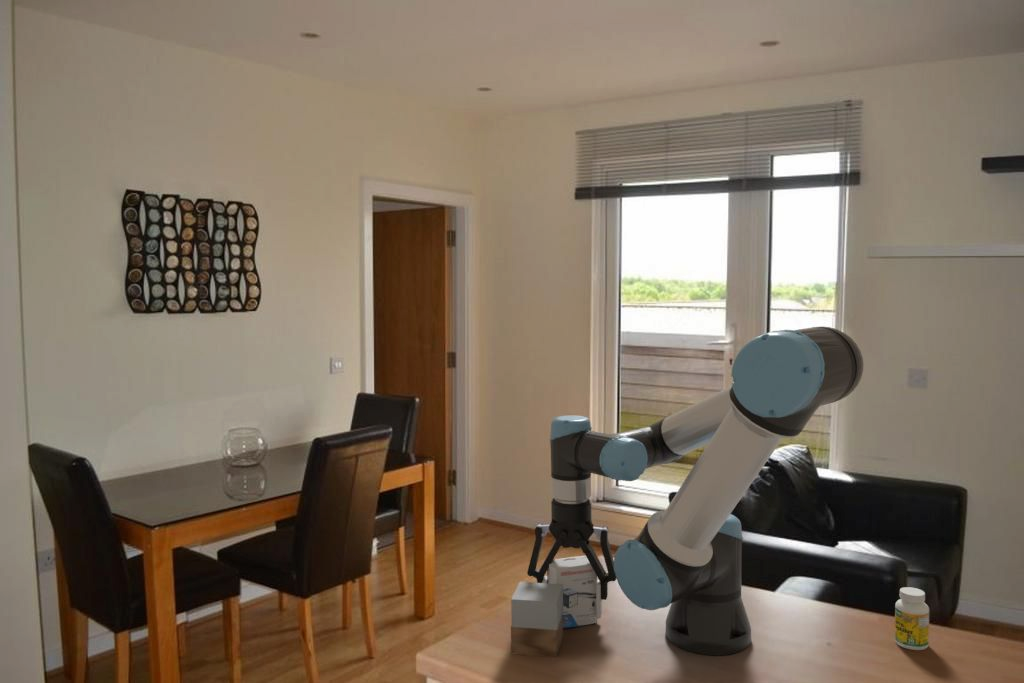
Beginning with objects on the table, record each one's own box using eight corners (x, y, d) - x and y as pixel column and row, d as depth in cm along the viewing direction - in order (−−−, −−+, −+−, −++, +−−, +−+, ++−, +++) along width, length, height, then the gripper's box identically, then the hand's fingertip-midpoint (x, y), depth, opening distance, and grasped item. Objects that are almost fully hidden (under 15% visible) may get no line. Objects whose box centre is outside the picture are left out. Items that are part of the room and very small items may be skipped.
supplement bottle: (935, 647, 140) (937, 594, 139) (913, 653, 138) (914, 599, 137) (909, 634, 145) (910, 583, 144) (887, 640, 143) (888, 588, 142)
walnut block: (562, 637, 146) (562, 611, 146) (556, 658, 139) (556, 630, 138) (520, 634, 148) (519, 608, 148) (511, 654, 140) (510, 627, 140)
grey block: (563, 610, 146) (562, 584, 146) (557, 630, 138) (556, 602, 138) (520, 608, 148) (519, 581, 147) (511, 626, 140) (511, 599, 139)
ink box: (556, 630, 149) (555, 569, 148) (546, 619, 154) (545, 560, 153) (598, 623, 152) (598, 563, 151) (587, 613, 156) (587, 554, 155)
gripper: (631, 495, 152) (632, 609, 154) (517, 490, 156) (519, 601, 158) (629, 506, 145) (629, 626, 146) (509, 501, 149) (511, 617, 151)
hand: (572, 613), depth 152 cm, fingers closed on ink box, 9 cm apart
